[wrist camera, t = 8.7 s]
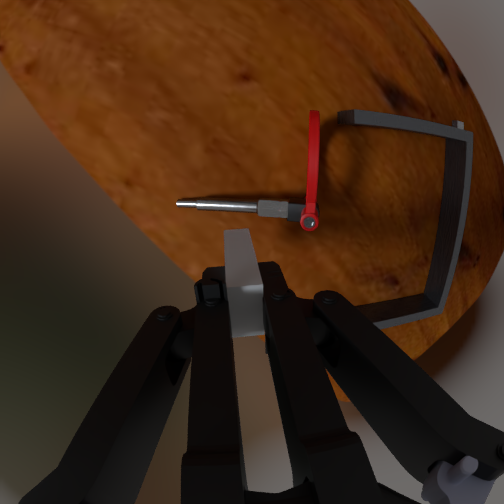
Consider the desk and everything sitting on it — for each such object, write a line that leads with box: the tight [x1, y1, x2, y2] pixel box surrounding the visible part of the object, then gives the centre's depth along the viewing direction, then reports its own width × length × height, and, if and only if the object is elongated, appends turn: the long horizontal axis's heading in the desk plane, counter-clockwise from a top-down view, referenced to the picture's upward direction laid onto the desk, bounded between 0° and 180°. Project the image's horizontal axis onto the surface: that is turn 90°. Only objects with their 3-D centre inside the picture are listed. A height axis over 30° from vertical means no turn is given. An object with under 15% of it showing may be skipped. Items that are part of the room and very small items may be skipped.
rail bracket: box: [338, 109, 473, 329], centre depth 22 cm, size 21×14×3 cm, turn 3°
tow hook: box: [177, 110, 320, 231], centre depth 18 cm, size 7×10×7 cm
